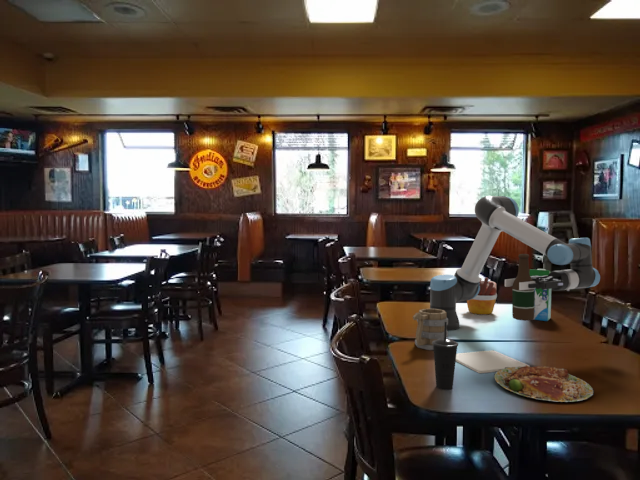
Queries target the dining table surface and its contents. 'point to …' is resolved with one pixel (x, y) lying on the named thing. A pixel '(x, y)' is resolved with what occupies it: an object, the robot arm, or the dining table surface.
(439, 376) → the drinking cup
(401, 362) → the dining table surface
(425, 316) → the tankard
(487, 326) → the dining table surface
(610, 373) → the dining table surface
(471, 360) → the square board
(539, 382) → the rice dish
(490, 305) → the bucket of meat
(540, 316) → the milk carton
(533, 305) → the beer bottle
